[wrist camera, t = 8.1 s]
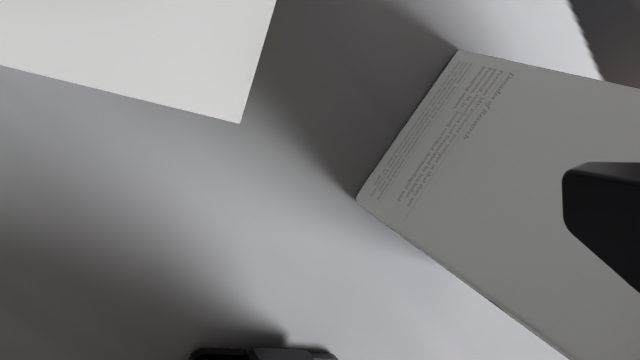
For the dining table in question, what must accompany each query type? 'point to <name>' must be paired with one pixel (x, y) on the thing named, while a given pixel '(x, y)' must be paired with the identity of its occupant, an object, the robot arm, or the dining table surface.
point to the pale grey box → (143, 48)
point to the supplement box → (514, 195)
